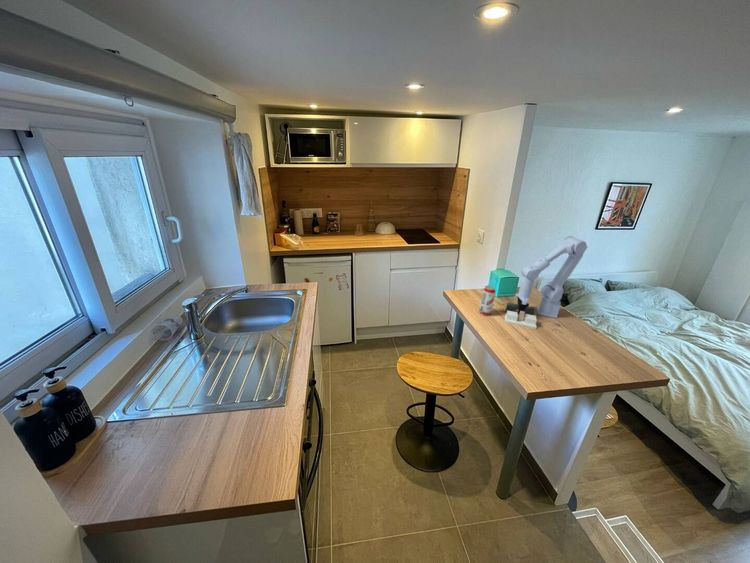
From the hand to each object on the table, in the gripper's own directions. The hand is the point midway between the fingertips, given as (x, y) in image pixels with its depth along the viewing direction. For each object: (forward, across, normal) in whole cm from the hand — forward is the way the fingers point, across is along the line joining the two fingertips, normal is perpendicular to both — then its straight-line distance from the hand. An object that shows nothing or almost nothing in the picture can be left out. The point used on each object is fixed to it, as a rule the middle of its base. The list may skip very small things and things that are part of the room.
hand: (519, 310), depth 161 cm
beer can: (+3, +7, -18) cm, 19 cm away
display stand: (+2, +9, 0) cm, 9 cm away
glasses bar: (+2, 0, 0) cm, 2 cm away
